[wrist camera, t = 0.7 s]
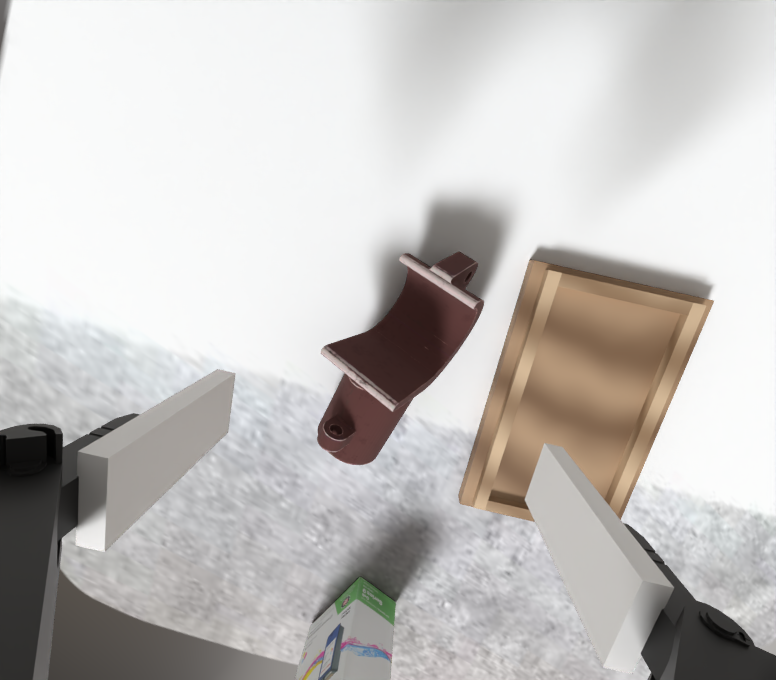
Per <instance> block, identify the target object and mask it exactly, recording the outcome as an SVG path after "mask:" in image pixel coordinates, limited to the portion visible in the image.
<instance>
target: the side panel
mask: <svg viewBox="0 0 776 680" xmlns="http://www.w3.org/2000/svg"><path fill="white" fill-rule="evenodd" d="M713 302H714V301H713V300H708V299H704V298H699V297H695V296H691V295H686V294H682V293H677V292H673V291H668V290H664V289H660V288H655V287H651V286H646V285H642V284H637V283H633V282H629V281H624V280H620V279H615V278H611V277H606V276H602V275H597V274H593V273H589V272H584V271H580V270H575V269H571V268H566V267H562V266H558V265H553V264H549V263H544V262H540V261H535V260H529V264H528V267H527V270H526V273H525V277H524V280H523V283H522V287H521V290H520V293H519V297H518V300H517V303H516V307H515V310H514V313H513V316H512V320H511V323H510V326H509V330H508V333H507V336H506V340H505V343H504V346H503V350H502V353H501V356H500V359H499V363H498V366H497V369H496V373H495V376H494V379H493V383H492V386H491V389H490V392H489V396H488V399H487V402H486V406H485V409H484V412H483V416H482V419H481V422H480V426H479V429H478V432H477V435H476V439H475V442H474V445H473V449H472V452H471V455H470V459H469V462H468V465H467V469H466V472H465V475H464V478H463V482H462V485H461V488H460V492H459V495H458V496H459V501H460V504H463V505H467V506H471V507H474V508H478V509H482V510H486V511H491V512H495V513H499V514H503V515H508V516H512V517H516V518H521V519H525V520H529V521H534V519H533V517H532V514H531V512H530V510H529V508H528V506H527V504H526V502H525V497H526V494H527V492H528V489H529V486H530V483H531V480H532V477H533V474H534V471H535V468H536V466H537V463H538V460H539V457H540V454H541V451H542V448H543V445H544V443H547V444H551V445H556V446H560V447H563V448H564V450H565V451H566V452H567V453H568V455H569V456H570V457H571V458H572V460H573V461H574V462H575V463H576V465H577V466H578V467H579V468H580V470H581V471H582V472H583V473H584V475H585V476H586V477H587V478H588V480H589V481H590V482H591V484H592V485H593V486H594V487H595V489H596V490H597V491H598V492H599V494H600V495H601V496H602V497H603V499H604V500H605V501H606V502H607V504H608V505H609V506H610V507H611V509H612V510H613V511H614V512H615V514H616V515H617V516H618V518H619V519H620V520H621V517H622V515H623V513H624V510H625V508H626V506H627V503H628V501H629V499H630V496H631V494H632V492H633V489H634V487H635V485H636V482H637V480H638V478H639V475H640V473H641V471H642V468H643V466H644V464H645V461H646V459H647V457H648V454H649V452H650V450H651V447H652V445H653V443H654V440H655V438H656V436H657V433H658V431H659V429H660V426H661V424H662V422H663V419H664V417H665V414H666V412H667V410H668V407H669V405H670V403H671V400H672V398H673V396H674V393H675V391H676V389H677V386H678V384H679V382H680V379H681V377H682V375H683V372H684V370H685V368H686V365H687V363H688V361H689V358H690V356H691V354H692V351H693V349H694V347H695V344H696V342H697V340H698V337H699V335H700V333H701V330H702V328H703V326H704V323H705V321H706V319H707V316H708V314H709V312H710V309H711V307H712V305H713ZM534 522H535V521H534Z"/></svg>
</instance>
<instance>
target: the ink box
mask: <svg viewBox="0 0 776 680" xmlns="http://www.w3.org/2000/svg"><path fill="white" fill-rule="evenodd" d="M395 606H396V602H394V601H393V600H392V599H391V598H389V597H388V596H386V595H385V594H384V593H382V592H381V591H380V590H378V589H377V588H376V587H374V586H373V585H372V584H370V583H369V582H367V581H366V580H365V579H363V578H362V577H359V578H358V579H357V580H356V581H355V582H354V583H353V584H352V585H351V586H350V587H349V588H348V589H347V590H346V591H345V592H344V593H343V594H342V595H341V596H340V597H339V598H338V599H337V600H336V601H335V602H334V603H333V604H332V605H331V606H330V607H329V608H328V609H327V610H326V611H325V612H324V613H323V614H322V615H321V616H320V617H319V618H318V619H317V620H316V621H315V622H314V623H313V624H311V626H310V629H309V632H308V636H307V639H306V642H305V646H304V649H303V652H302V656H301V659H300V663H299V666H298V670H297V673H296V677H295V680H390V679H391V663H392V649H393V634H394V619H395Z"/></svg>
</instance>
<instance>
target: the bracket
mask: <svg viewBox="0 0 776 680" xmlns="http://www.w3.org/2000/svg"><path fill="white" fill-rule="evenodd" d="M399 261H400V262H402V263H403V264H405V265H406V266H407V268H408V274H407V279H406V283H405V285H404V288H403V290H402V292H401V294H400V296H399V298H398V300H397V301H396V303H395V305H394V306H393V307H392V309H391V310H390V311H389V313H388V314H387V315H386V316H385V317H384V318H383V320H382V321H381V322H379V323H378V324H377V325H376V326H375V327H373V328H372V329H371V330H369V331H367V332H364V333H361V334H358V335H355V336H352V337H349V338H346V339H343V340H340V341H337V342H334V343H331V344H328V345H326V346H324V347H323V348H322V350H321V354H322V355H323V356H325V357H326V358H327V359H328V360H329V361H331V362H332V363H333V364H334V365H336V366H337V367H338V368H339V369H340V370H342V371H343V372H344V373H345V374H344V376H343V378H342V380H341V382H340V384H339V386H338V388H337V390H336V392H335V394H334V396H333V398H332V400H331V402H330V404H329V406H328V408H327V410H326V412H325V414H324V416H323V418H322V420H321V422H320V424H319V426H318V437H317V441H318V443H319V445H320V446H321V447H322V448H323V449H325V450H326V451H328V452H329V453H330V454H331V455H332V456H334V457H335V458H337V459H338V460H340V461H342V462H345V463H348V464H352V465H364V464H368V463H370V462H372V461H373V460H374V459H375V458H376V457H377V455H378V454H379V452H380V450H381V449H382V447H383V446H384V444H385V442H386V441H387V439H388V438H389V436H390V435H391V433H392V431H393V430H394V428H395V427H396V425H397V423H398V422H399V420H400V419H401V417H402V415H403V414H404V412H405V411H406V409H407V407H408V406H409V404H410V403H411V401H412V400H413V398H414V397H415V396H417V395H418V394H419V393H421V392H422V391H424V390H425V389H426V388H427V387H428V386H429V385H430V384H431V383H432V382H433V381H434V380H435V379H436V378H437V377H438V375H439V374H440V373H441V372H442V371H443V370H444V368H445V367H446V366H447V365H448V363H449V362H450V361H451V359H452V358H453V357H454V355H455V354H456V353H457V351H458V350H459V349H460V347H461V346H462V344H463V343H464V341H465V340H466V338H467V337H468V335H469V334H470V332H471V330H472V329H473V327H474V325H475V323H476V322H477V320H478V318H479V316H480V314H481V311H482V309H483V306H484V301H483V300H481V299H480V298H478V297H477V296H475V295H474V294H472V293H470V292H469V291H467V290H466V287H467V285H468V284H469V282H470V280H471V279H472V277H473V275H474V273H475V272H476V269H477V267H478V263H477V262H476V261H474V260H472V259H471V258H469V257H467V256H466V255H464V254H462V253H461V252H456V253H455V254H453V255H451V256H449V257H447V258H445V259H443V260H442V261H440V262H438V263H436V264H434V265H433V266H432V268H431V267H430V266H428V265H427V264H425V263H423V262H422V261H420V260H419V259H417V258H416V257H414V256H412V255H411V254H408V253H404V254H402V255H401V257H400V259H399Z"/></svg>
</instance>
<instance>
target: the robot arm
mask: <svg viewBox="0 0 776 680" xmlns="http://www.w3.org/2000/svg"><path fill="white" fill-rule="evenodd" d="M234 381H235V373H232V372H227V371H223V370H218V369H217V370H215V371H214V372H212V373H210V374H209V375H207V376H205V377H204V378H202V379H200V380H198V381H197V382H195V383H193V384H192V385H190V386H188V387H187V388H185V389H183V390H181V391H180V392H178V393H176V394H175V395H173V396H171V397H169V398H168V399H166V400H164V401H163V402H161V403H159V404H158V405H156V406H154V407H152V408H151V409H149V410H147V411H146V412H144V413H142V414H140V415H139V414H134V413H133V414H129V415H126V416H123V417H119V418H116V419H114V420H112V421H110V422H108V423H107V424H105V425H103V426H101V428H97V429H96V430H94V431H92V432H90V434H89V435H88V434H87V435H85V436H83V437H81V438H79V439H77V440H76V441H74V442H72V443H70V444H68V445H67V446H65V447H63V433H62V431H61V429H60V428H58V427H56V426H54V425H47V424H27V425H20V426H14V427H11V428H7V429H4V430H1V431H0V680H48V673H49V663H50V652H51V644H52V635H53V625H54V616H55V607H56V596H57V588H58V578H59V569H60V559H61V550H62V537H63V536H65V535H66V534H67V533H68V532H70V531H71V530H72V529H73V528H75V527H76V545H77V546H81V547H85V548H90V549H94V550H98V551H103V552H105V551H106V550H107V549H108V548H109V547H110V546H111V545H112V544H113V543H114V542H115V541H116V540H117V539H118V538H119V537H120V536H121V535H122V534H123V533H125V532H126V531H127V530H128V529H129V528H130V527H131V526H132V525H133V524H134V523H135V522H136V521H137V520H138V519H139V518H140V517H141V516H142V515H143V514H144V513H145V512H146V511H147V510H148V509H149V508H150V507H151V506H152V505H154V504H155V503H156V502H157V501H158V500H159V499H160V498H161V497H162V496H163V495H164V494H165V493H166V492H167V491H168V490H169V489H170V488H171V487H172V486H173V485H174V484H175V483H176V482H177V481H178V480H179V479H180V478H181V477H182V476H184V475H185V474H186V473H187V472H188V471H189V470H190V469H191V468H192V467H193V466H194V465H195V464H196V463H197V462H198V461H199V460H200V459H201V458H202V457H203V456H204V455H205V454H206V453H207V452H208V451H209V450H210V449H211V448H213V447H214V446H215V445H216V444H217V443H218V442H219V441H220V440H221V439H222V438H223V437H224V436H225V435H226V434H227V433H228V429H229V421H230V413H231V405H232V397H233V389H234ZM525 502H526V504H527V506H528V508H529V510H530V512H531V514H532V517H533V519H534V521H535V523H536V525H537V527H538V529H539V532H540V534H541V536H542V538H543V540H544V542H545V544H546V547H547V549H548V551H549V553H550V555H551V557H552V559H553V562H554V564H555V566H556V568H557V570H558V572H559V574H560V577H561V579H562V581H563V583H564V585H565V587H566V589H567V592H568V594H569V596H570V598H571V600H572V602H573V604H574V607H575V609H576V611H577V613H578V615H579V617H580V619H581V622H582V624H583V626H584V628H585V630H586V632H587V634H588V637H589V639H590V641H591V643H592V645H593V647H594V649H595V652H596V654H597V656H598V658H599V660H600V662H601V664H602V667H604V668H608V669H612V670H617V671H621V672H625V673H630V674H633V672H634V670H635V668H636V666H637V664H638V662H639V660H640V657H641V655H642V657H643V659H644V660H645V662H646V664H647V665H648V667H649V669H650V671H651V674H650V676H649V678H648V680H776V656H775V655H773V654H771V653H769V652H766V651H764V650H762V649H760V648H758V647H755V645H754V643H753V641H752V639H751V638H750V637H749V636H748V634H747V633H746V632H745V631H744V630H743V629H742V628H741V627H740V626H739V625H738V624H737V623H736V622H734V621H733V620H732V619H731V618H729V617H728V616H726V615H725V614H724V613H722V612H721V611H719V610H717V609H715V608H713V607H711V606H710V605H708V604H705V603H702V602H699V601H696V600H695V599H694V597H693V596H692V595H691V594H690V593H689V591H688V590H687V589H686V588H685V587H684V585H683V584H682V583H681V582H680V581H679V579H678V578H677V577H676V576H675V575H674V573H673V572H672V571H671V570H670V568H669V567H668V566H667V565H665V564H664V561H663V560H662V559H661V558H660V556H659V555H658V554H656V553H655V550H654V549H653V548H652V547H651V546H650V544H649V543H648V542H647V541H646V540H645V538H644V537H643V536H641V535H640V534H639V533H638V532H637V531H635V530H634V529H633V528H632V527H630V526H629V525H628V524H624V523H622V521H621V520H620V519H619V518H618V516H617V515H616V514H615V512H614V511H613V510H612V509H611V507H610V506H609V505H608V504H607V502H606V501H605V500H604V499H603V497H602V496H601V495H600V494H599V492H598V491H597V490H596V489H595V487H594V486H593V485H592V484H591V482H590V481H589V480H588V478H587V477H586V476H585V475H584V473H583V472H582V471H581V470H580V468H579V467H578V466H577V465H576V463H575V462H574V461H573V460H572V458H571V457H570V456H569V455H568V453H567V452H566V451H565V450H564V448H563V447H560V446H556V445H551V444H547V443H544V445H543V448H542V451H541V454H540V457H539V460H538V463H537V466H536V468H535V471H534V474H533V477H532V480H531V483H530V486H529V489H528V492H527V494H526V497H525Z"/></svg>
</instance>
